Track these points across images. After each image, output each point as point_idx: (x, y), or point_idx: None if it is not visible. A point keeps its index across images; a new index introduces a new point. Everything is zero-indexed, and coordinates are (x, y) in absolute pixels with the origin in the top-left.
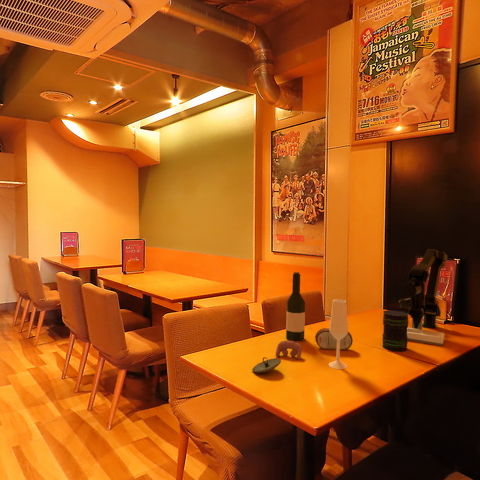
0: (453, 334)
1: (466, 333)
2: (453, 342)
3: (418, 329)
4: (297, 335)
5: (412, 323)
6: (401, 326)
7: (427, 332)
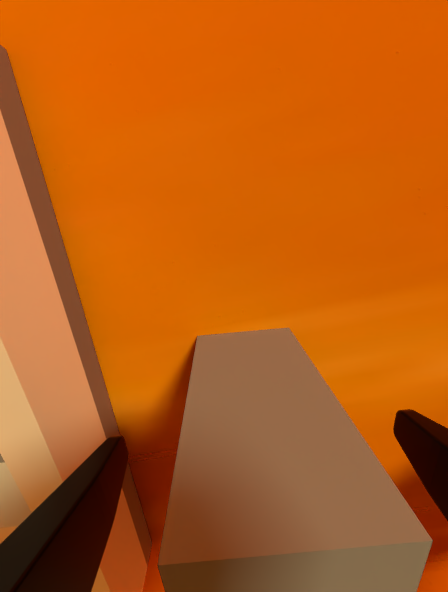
0: None
1: (431, 588)
2: (155, 576)
3: (48, 491)
4: None
5: (183, 434)
6: None
7: None
